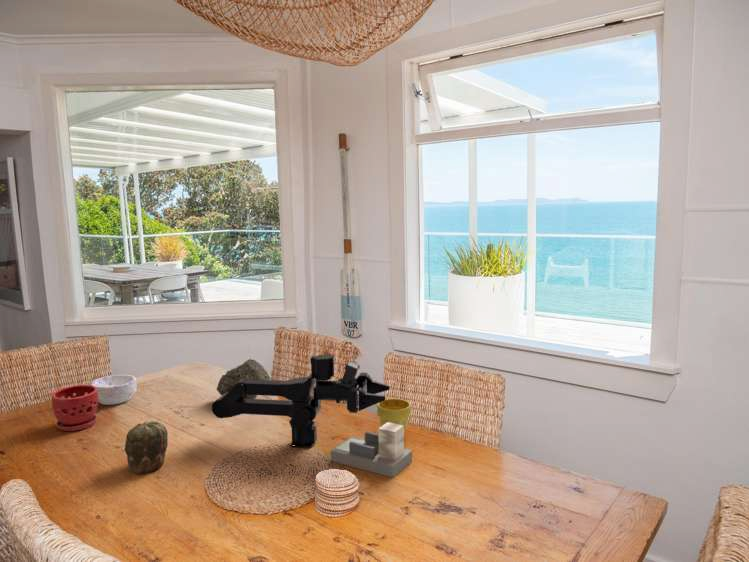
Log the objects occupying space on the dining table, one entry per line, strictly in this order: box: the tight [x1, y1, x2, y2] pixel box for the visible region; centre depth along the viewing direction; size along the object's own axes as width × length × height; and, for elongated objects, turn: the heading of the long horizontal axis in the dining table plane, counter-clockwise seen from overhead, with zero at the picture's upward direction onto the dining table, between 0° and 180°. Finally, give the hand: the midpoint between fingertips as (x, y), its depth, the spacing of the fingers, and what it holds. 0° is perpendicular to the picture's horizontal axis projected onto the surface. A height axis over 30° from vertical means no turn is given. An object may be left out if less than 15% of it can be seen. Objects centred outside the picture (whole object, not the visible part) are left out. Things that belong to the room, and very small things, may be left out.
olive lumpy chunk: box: [124, 420, 169, 475], centre depth 147 cm, size 11×11×12 cm
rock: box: [216, 358, 272, 399], centre depth 196 cm, size 18×14×15 cm
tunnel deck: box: [330, 431, 413, 478], centre depth 149 cm, size 20×11×6 cm, turn 59°
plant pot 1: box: [51, 384, 99, 432], centre depth 176 cm, size 13×13×12 cm
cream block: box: [377, 422, 405, 461], centre depth 145 cm, size 5×5×8 cm
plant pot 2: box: [376, 398, 412, 435], centre depth 167 cm, size 10×10×10 cm
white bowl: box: [90, 374, 138, 406], centre depth 200 cm, size 15×15×8 cm
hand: (387, 392), depth 156 cm, fingers open, 9 cm apart
